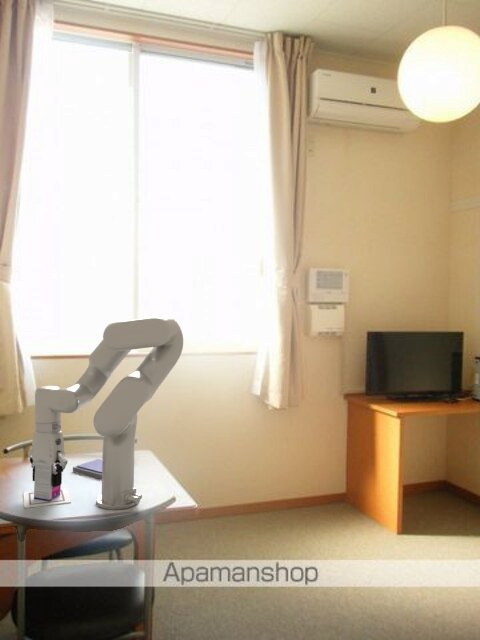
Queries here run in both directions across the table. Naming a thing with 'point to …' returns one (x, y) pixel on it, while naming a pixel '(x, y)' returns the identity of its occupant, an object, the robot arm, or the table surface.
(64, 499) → the marked card
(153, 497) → the table surface
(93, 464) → the ink pad
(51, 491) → the supplement box
